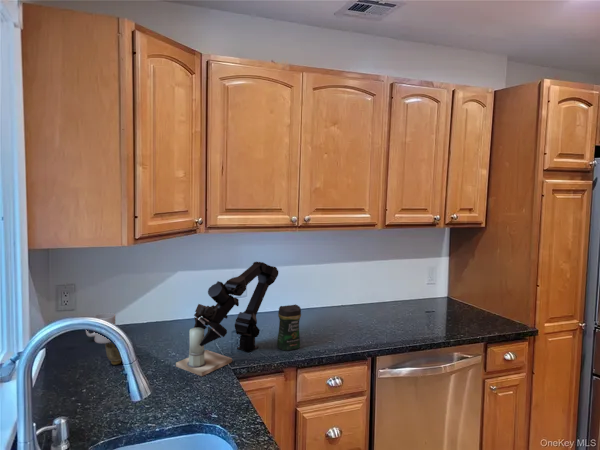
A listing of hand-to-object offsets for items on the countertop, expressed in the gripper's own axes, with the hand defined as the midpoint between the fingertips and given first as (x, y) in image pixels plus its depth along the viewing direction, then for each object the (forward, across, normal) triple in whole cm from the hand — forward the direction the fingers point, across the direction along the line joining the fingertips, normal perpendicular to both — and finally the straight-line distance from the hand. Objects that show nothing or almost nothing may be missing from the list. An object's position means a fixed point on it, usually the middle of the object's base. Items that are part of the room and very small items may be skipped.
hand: (195, 341), depth 167 cm
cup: (+24, -20, -10) cm, 33 cm away
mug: (+24, -48, -9) cm, 54 cm away
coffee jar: (-22, +2, +37) cm, 43 cm away
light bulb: (+6, 0, +6) cm, 9 cm away
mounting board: (+4, -1, +10) cm, 11 cm away
